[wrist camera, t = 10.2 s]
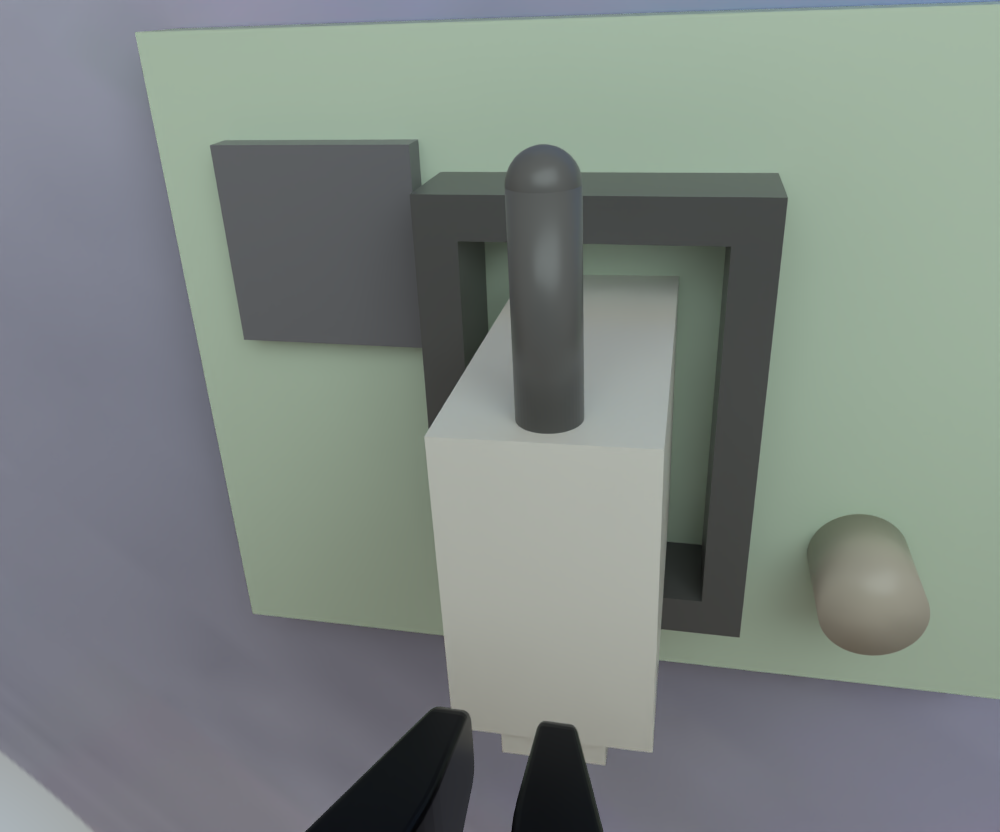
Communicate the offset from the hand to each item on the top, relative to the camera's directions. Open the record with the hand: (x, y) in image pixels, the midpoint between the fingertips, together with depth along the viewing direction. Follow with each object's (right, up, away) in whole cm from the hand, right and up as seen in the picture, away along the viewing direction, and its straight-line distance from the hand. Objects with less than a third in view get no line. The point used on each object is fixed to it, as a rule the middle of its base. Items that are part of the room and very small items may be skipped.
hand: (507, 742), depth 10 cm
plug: (+2, +5, +8) cm, 10 cm away
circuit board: (+2, +5, +10) cm, 11 cm away
